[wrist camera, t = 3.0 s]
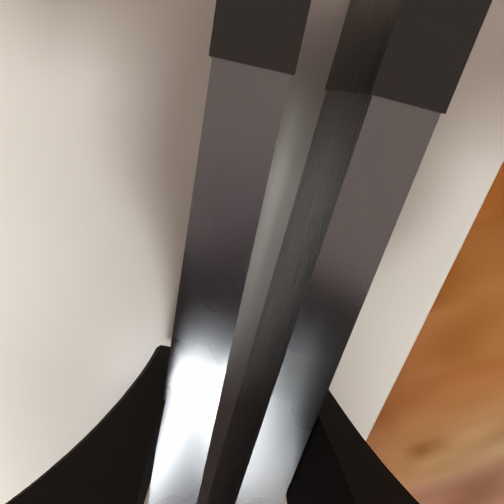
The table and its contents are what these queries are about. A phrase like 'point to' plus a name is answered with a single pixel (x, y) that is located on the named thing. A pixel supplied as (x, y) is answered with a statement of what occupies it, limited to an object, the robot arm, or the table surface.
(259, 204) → the tongs arm
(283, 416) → the tongs base
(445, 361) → the table surface
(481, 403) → the table surface
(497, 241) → the table surface
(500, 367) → the table surface
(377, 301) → the cutting board
